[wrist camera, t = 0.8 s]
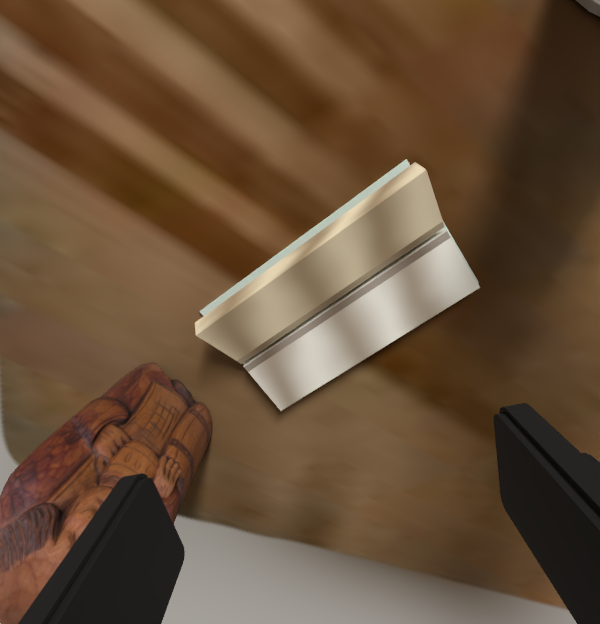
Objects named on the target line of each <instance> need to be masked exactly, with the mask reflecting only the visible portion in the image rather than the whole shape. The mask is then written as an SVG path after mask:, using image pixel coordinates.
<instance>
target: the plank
mask: <svg viewBox="0 0 600 624" xmlns="http://www.w3.org/2000/svg"><path fill="white" fill-rule="evenodd" d="M443 228H444V223H443V221H442V217H441V214H440V211H439V208H438V205H437V202H436V199H435V195H434V192H433V189H432V186H431V183H430V180H429V177H428V173H427V170H426V169H424V168H423V167H421V166H420V165H419V164H417V163H416V162H415V163H413V164H412V165H411V166H409V167H408V168H406V169H405V170H404V171H402V172H401V173H400V174H398V175H397V176H396V177H394V178H393V179H391V180H390V181H389V182H387V183H386V184H385V185H383V186H382V187H380V188H379V189H378V190H376V191H375V192H374V193H372V194H371V195H369V196H368V197H367V198H365V199H364V200H363V201H361V202H360V203H358V204H357V205H356V206H354V207H353V208H352V209H350V210H349V211H348V212H346V213H345V214H343V215H342V216H341V217H339V218H338V219H337V220H335V221H334V222H332V223H331V224H330V225H328V226H327V227H326V228H324V229H323V230H321V231H320V232H319V233H317V234H316V235H315V236H313V237H312V238H311V239H309V240H308V241H306V242H305V243H304V244H302V245H301V246H300V247H298V248H297V249H295V250H294V251H293V252H291V253H290V254H289V255H287V256H286V257H284V258H283V259H282V260H280V261H279V262H278V263H276V264H275V265H273V266H272V267H271V268H269V269H268V270H267V271H265V272H264V273H263V274H261V275H260V276H258V277H257V278H256V279H254V280H253V281H252V282H250V283H249V284H247V285H246V286H245V287H243V288H242V289H241V290H239V291H238V292H236V293H235V294H234V295H232V296H231V297H230V298H228V299H227V300H225V301H224V302H223V303H221V304H220V305H219V306H217V307H216V308H215V309H213V310H212V311H210V312H209V313H208V314H206V315H205V316H204V317H202V318H201V319H199V320H198V321H197V322H195V330H196V336H198V337H199V338H201V339H203V340H204V341H206V342H207V343H209V344H210V345H212V346H214V347H215V348H217V349H218V350H220V351H222V352H223V353H225V354H226V355H228V356H229V357H231V358H233V359H234V360H236V361H237V362H239V363H240V364H242V363H244V362H245V361H247V360H248V359H250V358H251V357H253V356H254V355H255V354H257V353H258V352H260V351H261V350H263V349H264V348H266V347H267V346H269V345H270V344H272V343H273V342H275V341H276V340H278V339H279V338H281V337H282V336H284V335H285V334H287V333H288V332H290V331H291V330H293V329H294V328H296V327H297V326H299V325H300V324H302V323H303V322H304V321H306V320H307V319H309V318H310V317H312V316H313V315H315V314H316V313H318V312H319V311H321V310H322V309H324V308H325V307H327V306H328V305H330V304H331V303H333V302H334V301H336V300H337V299H339V298H340V297H342V296H343V295H345V294H346V293H348V292H349V291H351V290H352V289H353V288H355V287H356V286H358V285H359V284H361V283H362V282H364V281H365V280H367V279H368V278H370V277H371V276H373V275H374V274H376V273H377V272H379V271H380V270H382V269H383V268H385V267H386V266H388V265H389V264H391V263H392V262H394V261H395V260H397V259H398V258H400V257H401V256H402V255H404V254H405V253H407V252H408V251H410V250H411V249H413V248H414V247H416V246H417V245H419V244H420V243H422V242H423V241H425V240H426V239H428V238H429V237H431V236H432V235H434V234H435V233H437V232H438V231H440V230H441V229H443Z"/></svg>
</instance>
